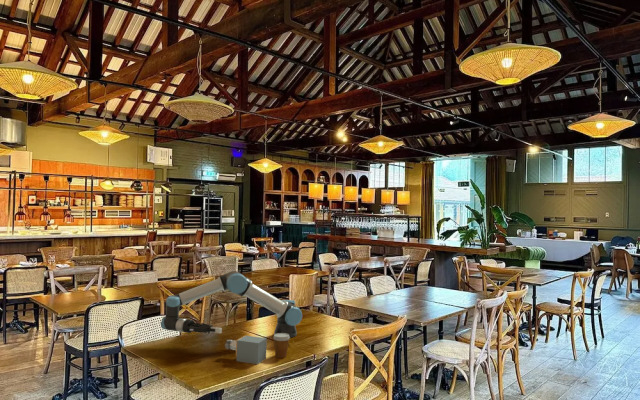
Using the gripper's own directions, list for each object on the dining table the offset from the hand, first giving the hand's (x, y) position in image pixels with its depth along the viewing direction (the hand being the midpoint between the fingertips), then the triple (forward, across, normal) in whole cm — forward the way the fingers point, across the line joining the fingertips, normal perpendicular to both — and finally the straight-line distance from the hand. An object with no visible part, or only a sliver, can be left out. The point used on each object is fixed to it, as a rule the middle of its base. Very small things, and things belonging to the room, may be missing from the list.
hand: (221, 330), depth 251 cm
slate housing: (+19, -1, -14) cm, 24 cm away
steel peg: (+10, 0, -10) cm, 14 cm away
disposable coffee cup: (+32, -14, -14) cm, 37 cm away
